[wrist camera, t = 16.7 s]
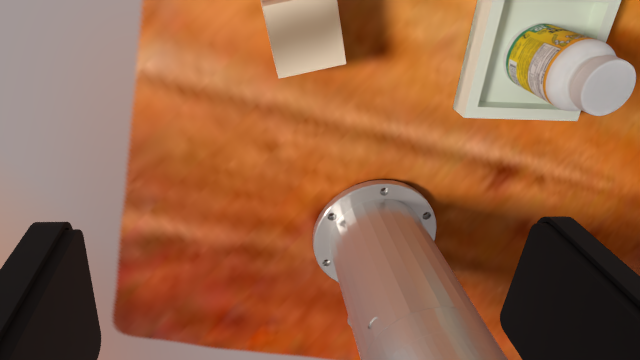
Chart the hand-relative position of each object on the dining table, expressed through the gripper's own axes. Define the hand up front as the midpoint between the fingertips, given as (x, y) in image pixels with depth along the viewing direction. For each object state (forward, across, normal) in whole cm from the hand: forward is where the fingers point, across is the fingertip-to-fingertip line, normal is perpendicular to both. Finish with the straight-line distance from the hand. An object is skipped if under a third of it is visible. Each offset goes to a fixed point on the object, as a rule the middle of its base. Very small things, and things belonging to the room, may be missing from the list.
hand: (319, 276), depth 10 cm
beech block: (+30, -3, 0) cm, 31 cm away
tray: (+30, -23, +1) cm, 38 cm away
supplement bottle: (+30, -23, +1) cm, 38 cm away
